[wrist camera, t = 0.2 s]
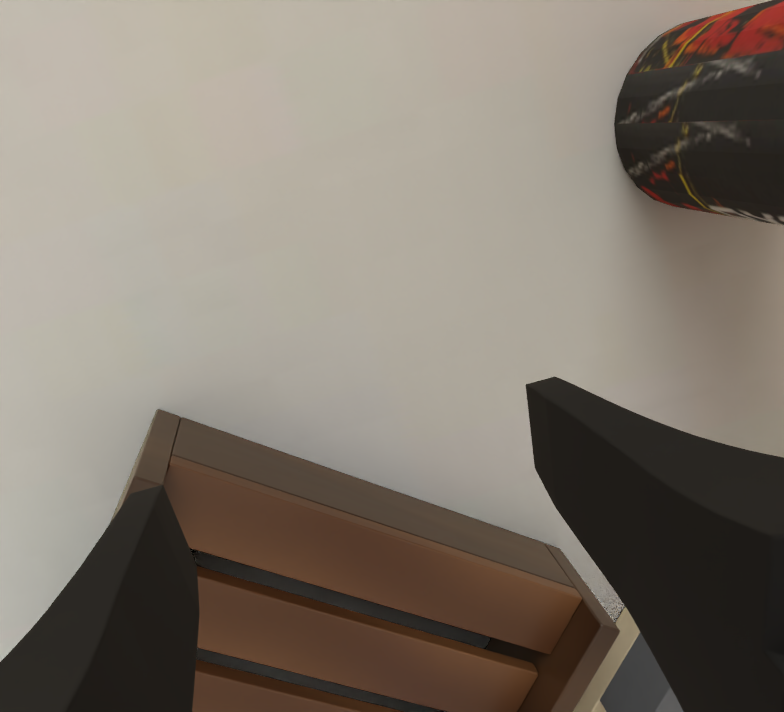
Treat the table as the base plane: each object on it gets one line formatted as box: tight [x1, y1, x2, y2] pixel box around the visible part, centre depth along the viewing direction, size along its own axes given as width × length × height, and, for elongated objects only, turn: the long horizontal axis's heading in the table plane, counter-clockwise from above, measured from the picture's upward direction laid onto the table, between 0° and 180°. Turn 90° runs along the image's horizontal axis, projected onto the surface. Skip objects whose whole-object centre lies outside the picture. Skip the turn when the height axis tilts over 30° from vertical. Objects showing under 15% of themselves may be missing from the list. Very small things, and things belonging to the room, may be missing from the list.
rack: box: [111, 409, 620, 712], centre depth 25 cm, size 12×16×5 cm
